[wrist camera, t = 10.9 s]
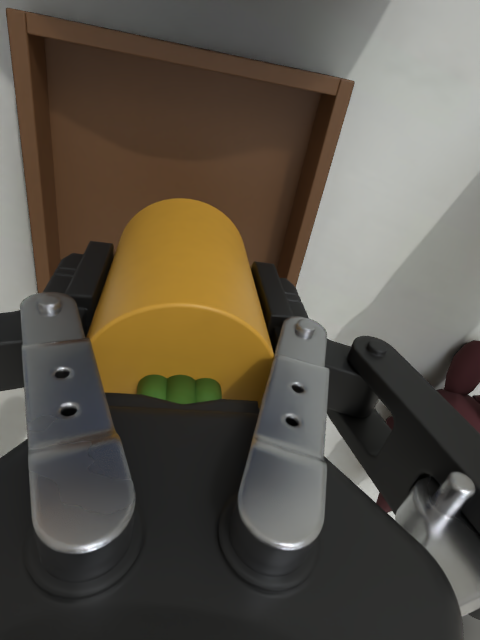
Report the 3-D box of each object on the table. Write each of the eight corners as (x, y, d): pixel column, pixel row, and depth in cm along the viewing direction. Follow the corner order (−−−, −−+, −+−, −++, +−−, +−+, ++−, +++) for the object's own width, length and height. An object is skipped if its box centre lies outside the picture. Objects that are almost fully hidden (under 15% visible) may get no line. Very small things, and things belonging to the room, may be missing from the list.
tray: (55, 308, 22) (42, 336, 20) (29, 11, 15) (4, 7, 13) (269, 326, 24) (277, 352, 22) (335, 76, 17) (355, 81, 15)
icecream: (439, 550, 30) (591, 403, 24) (373, 567, 26) (536, 396, 20) (380, 473, 35) (493, 335, 29) (318, 477, 31) (434, 319, 25)
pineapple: (116, 306, 16) (55, 536, 9) (119, 187, 14) (34, 368, 6) (233, 317, 17) (269, 534, 10) (256, 208, 15) (330, 387, 7)
